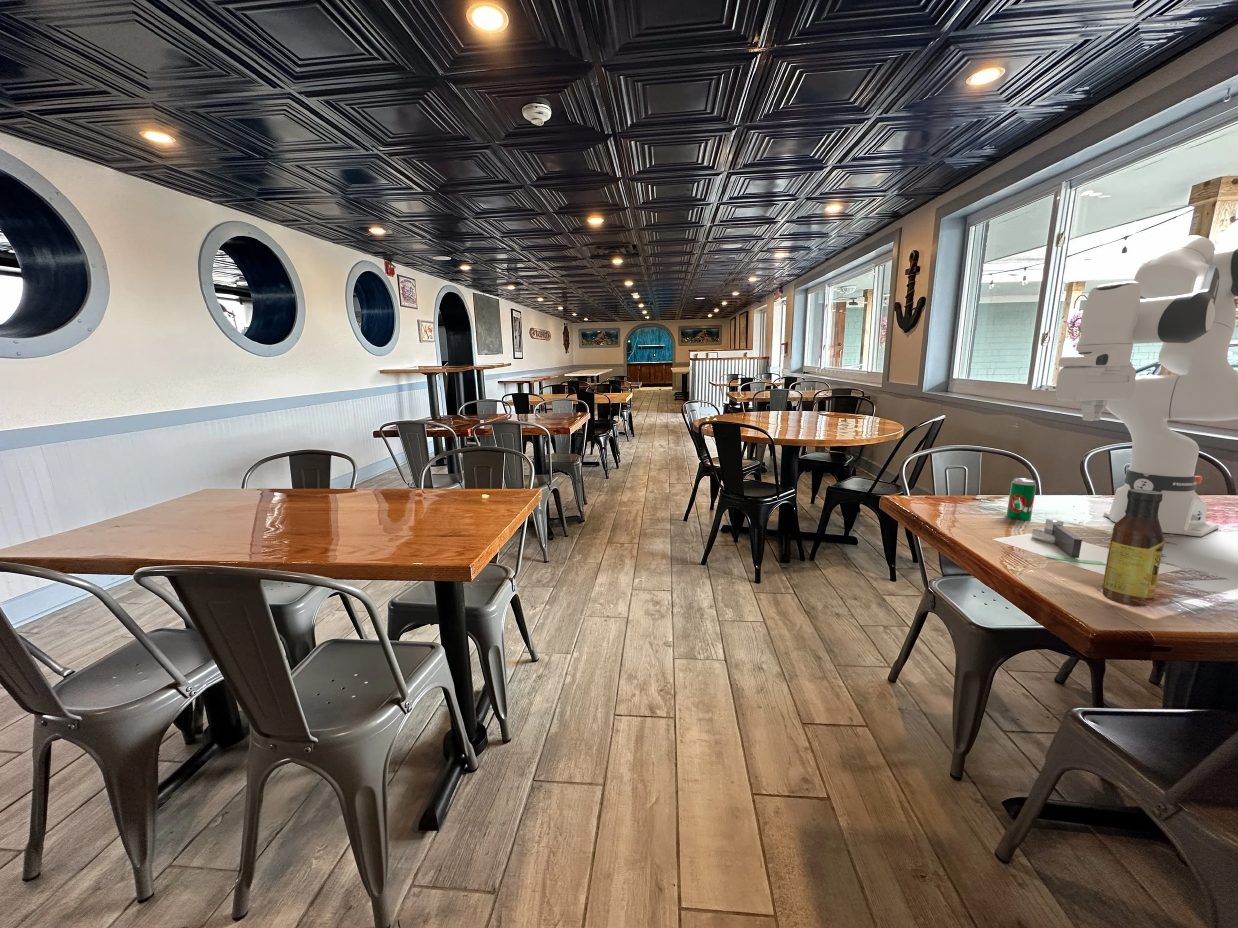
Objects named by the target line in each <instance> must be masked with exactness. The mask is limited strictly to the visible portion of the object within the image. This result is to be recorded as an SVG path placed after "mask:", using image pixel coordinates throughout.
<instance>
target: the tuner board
mask: <svg viewBox="0 0 1238 928" xmlns="http://www.w3.org/2000/svg"><path fill="white" fill-rule="evenodd" d="M991 540H992V541H996V542H999V543H1002V544H1004V545H1008V546H1011V547H1015V548H1018V549H1019V550H1020V549H1021V550H1024V551H1025V552H1026V551H1027V552H1030V553H1033V554H1036V555H1038V556H1039V555H1040V556H1043V557H1046V558H1047V559H1050V560H1051V559H1052V560H1055V561H1059V562H1061V563H1064V564H1068V565H1071V566H1074V567H1077V568H1080V569H1084V570H1087V571H1090V572H1093V573H1096V574H1100V575H1102V576H1104V574H1105V568H1106V563H1107V557H1108V551H1109V547H1108V548H1107V547H1103V546H1099V545H1096V544H1093V543H1088V542H1086V541H1085V542H1084V541H1082V544H1081V549H1080V554H1079V558H1074V557H1071V556H1069V555H1068V554H1067V553H1065V552H1064V551H1063V550H1062V549H1060V548H1059V547H1058V546H1056V545H1055V544H1052V543H1047V542H1042V541H1039V540H1036V539H1034V538H1032V532H1031V533H1030V532H1029V533H1026V534H1025V533H1024V534H1018V535H1017V534H1015V535H1011V536H1003V537H996V538H991ZM1182 570H1184V569H1183V568H1180V567H1176V566H1173V565H1170V564H1165V563H1161V562H1160V566H1159V571H1158V575H1163V574H1166V573H1171V572H1177V571H1182Z"/></svg>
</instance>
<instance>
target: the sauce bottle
mask: <svg viewBox="0 0 1238 928" xmlns="http://www.w3.org/2000/svg"><path fill="white" fill-rule="evenodd" d="M1162 496H1163V494H1162V493H1161V492H1156V491H1151V490H1142V489H1129V490H1128V493H1127V499H1128V502H1127V509H1126V510H1125V513H1126V515H1125V516H1124V517H1123V518H1122V519H1120V520H1119V521H1118V522H1117V523H1116V522H1115V523H1114V525H1113V528H1112V534H1111V539H1110V540H1109V545H1108V546H1109V547H1108V549H1109V551H1108V557H1107V563H1106V568H1105V574H1104V575H1103V579H1102V588H1104V589H1102V594H1103V596H1105V597H1106V598H1107V599H1110V600H1112V601H1114V602H1117V603H1120V604H1124V605H1128V606H1129V605H1130V606H1135V607H1146V606H1148V604H1145V603H1142V602H1140V601H1151V600H1152V598H1153V597H1154V595H1155V591H1156V585H1157V581H1158V576H1159V574H1158V571H1159V566H1160V563H1161V561H1162V556H1163V549H1164V544H1165V536H1164V532H1162V529H1161V526H1160V523H1159V519H1158V510H1159V504H1160V502H1161V501H1162Z"/></svg>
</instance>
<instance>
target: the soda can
mask: <svg viewBox="0 0 1238 928" xmlns="http://www.w3.org/2000/svg"><path fill="white" fill-rule="evenodd" d="M1036 489H1037V484H1036V480H1034V479H1031V478H1025V477H1024V478H1023V477H1014V478H1013V480H1012V481H1011V483H1010V490H1009V496H1008V497H1009V498H1008V503H1007V510H1006V516H1005V517H1007V518H1008V519H1012V520H1015V521H1023V522H1025V521H1031V520H1032V514H1033V510H1034V509H1033V507H1034V503H1035V502H1034V501H1035V496H1036Z"/></svg>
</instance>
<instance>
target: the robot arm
mask: <svg viewBox="0 0 1238 928" xmlns="http://www.w3.org/2000/svg"><path fill="white" fill-rule="evenodd" d="M1087 295H1088V296H1087V298H1086V299H1085V300H1086V301H1085V303H1084V307H1083V310H1082V315H1081V318H1080V319H1081V320H1080V324H1079V328H1080V338H1079V340H1078V342H1077V344H1076V348H1075V350H1074V351H1072V352H1070V353H1068V354H1066V355H1063V356H1061V357H1060V358H1059V360H1058V366H1059V367H1060V368H1061V369H1059V371H1058V373H1057V379H1056V385H1055V397H1056V399H1057V400H1058V401H1063V402H1080V406H1079V407H1080V409H1081V412H1082V417H1081V420H1082V421H1087V422H1092V421H1094V422H1095V421H1100V420H1101V416H1102V413H1103V412H1104V410H1105V408H1106V411H1108V412H1109V413H1111V415H1114V416H1115V417H1116V418H1118V419H1119V420H1120V421H1121V422H1122V423H1123V424H1124V425H1125V426H1126V428H1127V430H1128V432H1129V434H1130V437H1131V444H1132V445H1131V446H1132V447H1131V457H1130V462H1129V468H1128V469H1127V470H1126V472H1125V474H1124V479H1123V482H1124V485H1123V486H1121V487H1117V489H1116V491H1115V493H1114V497H1113V500H1112V503H1111V507H1110V511H1104V512H1103V516H1104V517H1105V518H1106V517H1107V518H1109V519H1110V521H1112V522H1113V523H1115V524H1116V523H1117V522H1118V521H1119V520H1120V519H1122V518H1123V517H1124V516H1125V515H1126V513H1125V510H1126V509H1127V502H1128V499H1127V493H1128V490H1129V489H1142V490H1151V491H1156V492H1161V493H1162V494H1163V496H1162V501H1161V502H1160V504H1159V510H1158V519H1159V523H1160V526H1161V529H1162V533H1163V534H1165V533H1166V534H1177V535H1186V536H1194V537H1203V536H1205V535H1207V534H1210V533H1211V532H1213V531H1215V530H1217V529H1218V528H1219V523H1215V522H1212V521H1208V520H1206V517H1207V513H1208V504H1207V503H1206V502H1205V501H1204V500H1203V499H1202V498H1201V497H1200V496H1199V494H1197V493H1196V491H1195V490H1197V485H1200V484H1201V483H1202V482H1203V476H1202V475H1195V471H1196V467H1197V463H1198V458H1199V453H1200V447H1199V445H1198V443H1197V442H1196V440H1194V439H1193V438H1191V437H1188V436H1186V435H1184V434H1183V433H1180V432H1176V431H1175V430H1172V429H1171V428H1170V427H1169V426H1168V421H1169V420H1179V421H1181V420H1182V421H1205V422H1221V421H1232V420H1238V371H1237V370H1235V369H1234V368H1233V366H1232V365H1231V364H1230V363H1229V360H1228V353H1229V348H1230V345H1231V341H1232V338H1233V335H1234V331H1235V327H1236V321H1237V307H1236V306H1237V305H1236V303H1235V299H1236V297H1238V246H1236V247H1230V248H1226V249H1219V250H1216V247H1215V244H1214V242H1212V240H1210V239H1209V238H1207V237H1204V236H1202V235H1201V236H1200V235H1189V236H1183V237H1179V238H1176V239H1175V240H1172V241H1171V242H1168V243H1167V244H1166V245H1163V246H1162V247H1161V248H1159V249H1158V250H1157V251H1156V252H1155V251H1154V253H1152V255H1151V256H1149V257H1148V258H1147V259H1146V260H1145V262H1144V263H1142V264H1141V265H1140V267H1139V268H1138V269H1137V271H1136V274H1135V276H1134V279H1133V280H1129V281H1119V282H1111V283H1105V284H1100V285H1096V286H1095V287H1092V288H1091V289H1090V291H1089V292H1088V294H1087ZM1154 343H1155V344H1157V343H1159V344H1161V343H1162V345H1161V348H1160V350H1159V353H1158V362H1159V364H1160V365H1161V366H1163V367H1164V368H1165V369H1166V370H1168V371H1169V372H1171V373H1174V375H1173V374H1171V375H1170V374H1169V375H1166V374H1165V375H1163V374H1162V375H1161V374H1159V375H1157V374H1156V375H1154V374H1152V375H1149V374H1148V375H1146V374H1145V375H1144V374H1143V375H1137V371H1136V369H1135V367H1134V365H1133V363H1132V362H1131V359H1132V354H1133V350H1134V349H1133V348H1134V345H1135V344H1154Z"/></svg>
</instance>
